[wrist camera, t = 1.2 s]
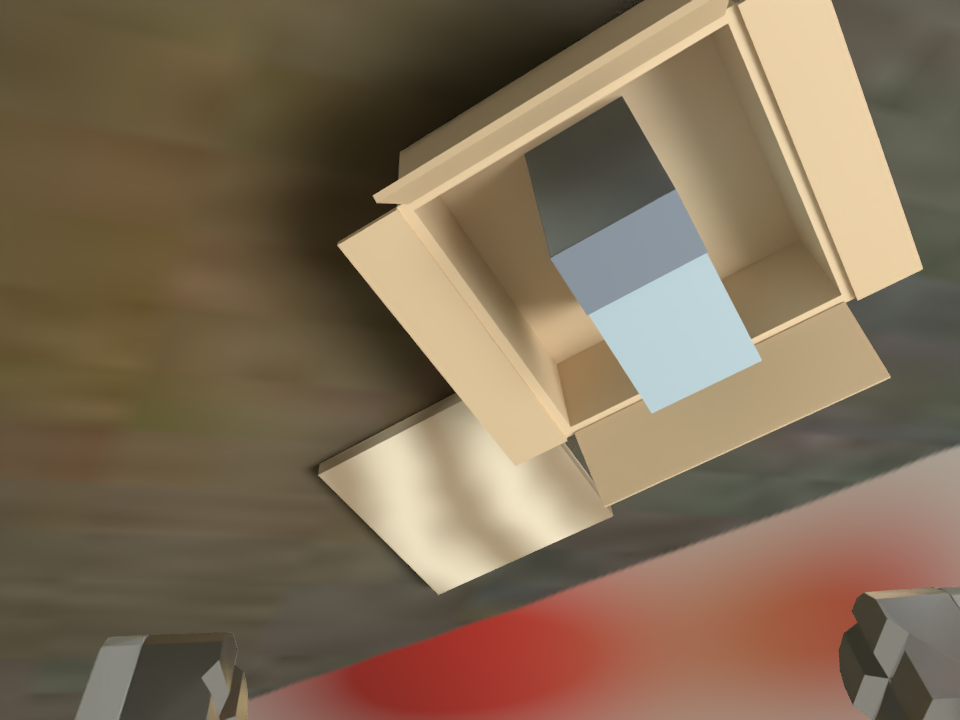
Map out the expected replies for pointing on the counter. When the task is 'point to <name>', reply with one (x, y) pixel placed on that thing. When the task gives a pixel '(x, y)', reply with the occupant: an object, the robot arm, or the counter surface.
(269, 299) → the counter surface
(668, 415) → the carton
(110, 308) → the counter surface
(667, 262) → the slate-blue box
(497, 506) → the birch board
